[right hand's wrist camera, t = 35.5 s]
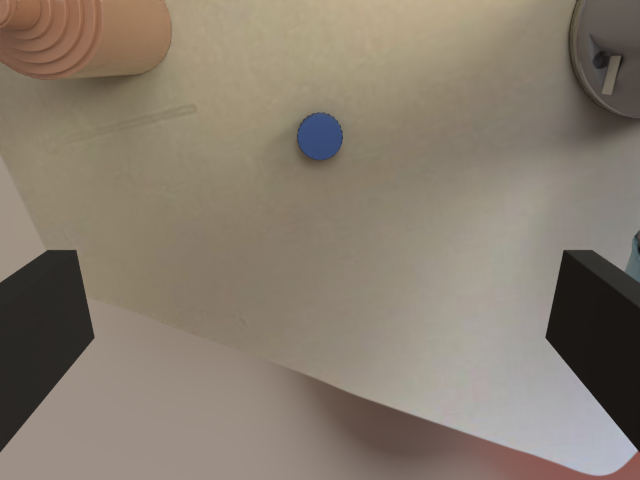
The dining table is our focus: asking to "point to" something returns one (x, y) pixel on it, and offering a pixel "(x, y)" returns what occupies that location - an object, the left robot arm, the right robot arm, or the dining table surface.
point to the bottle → (83, 37)
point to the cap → (320, 136)
